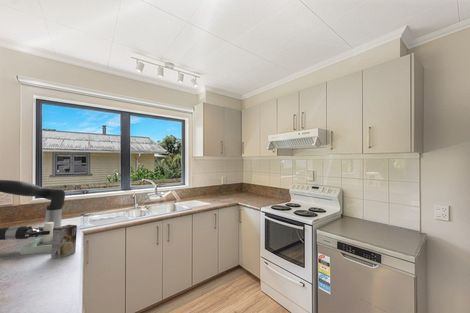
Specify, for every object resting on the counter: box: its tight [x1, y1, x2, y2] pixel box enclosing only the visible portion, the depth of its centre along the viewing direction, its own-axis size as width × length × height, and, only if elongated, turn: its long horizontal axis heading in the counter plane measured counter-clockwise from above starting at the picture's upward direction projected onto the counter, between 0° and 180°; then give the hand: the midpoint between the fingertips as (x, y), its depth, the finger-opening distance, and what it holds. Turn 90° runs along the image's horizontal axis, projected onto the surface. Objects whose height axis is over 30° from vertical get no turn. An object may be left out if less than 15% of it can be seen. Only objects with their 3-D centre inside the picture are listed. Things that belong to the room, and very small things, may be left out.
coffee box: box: [50, 224, 78, 260], centre depth 116 cm, size 9×6×16 cm
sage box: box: [19, 235, 53, 255], centre depth 126 cm, size 18×16×4 cm
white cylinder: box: [42, 222, 54, 244], centre depth 126 cm, size 4×4×14 cm
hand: (52, 230), depth 127 cm, fingers open, 6 cm apart
